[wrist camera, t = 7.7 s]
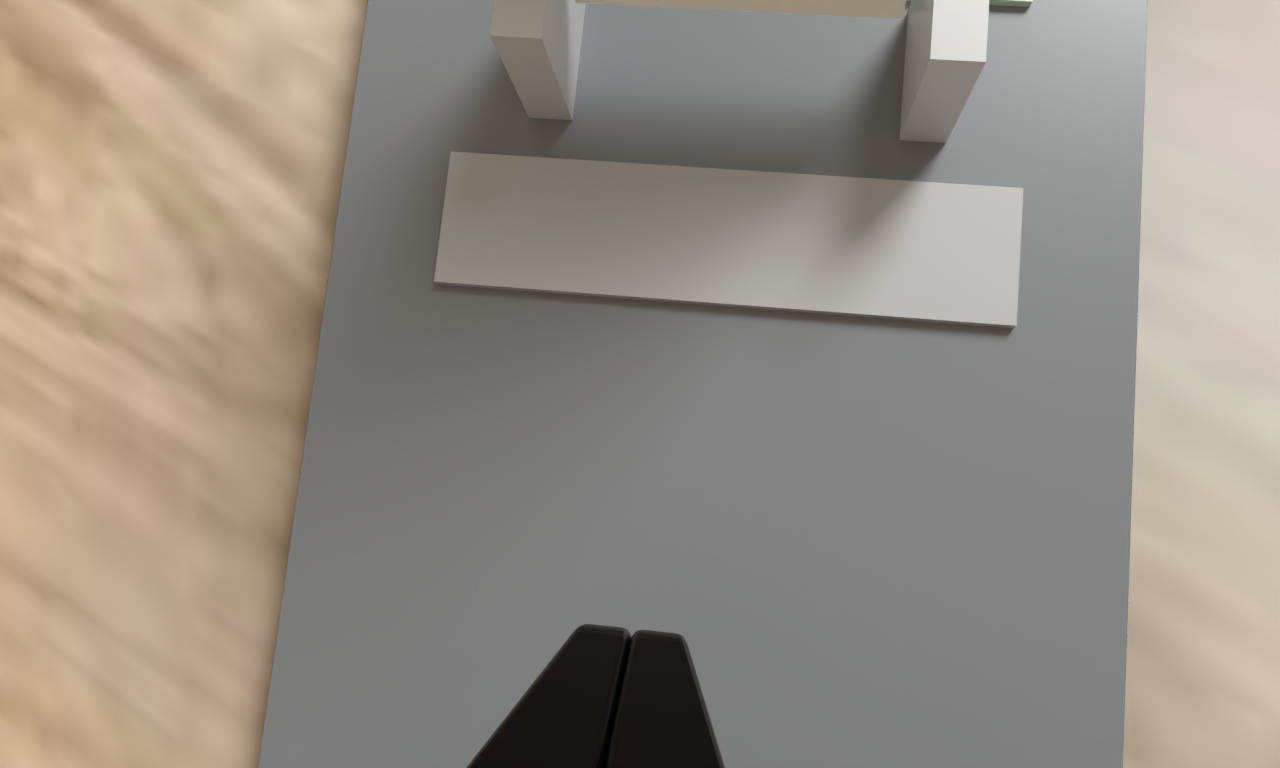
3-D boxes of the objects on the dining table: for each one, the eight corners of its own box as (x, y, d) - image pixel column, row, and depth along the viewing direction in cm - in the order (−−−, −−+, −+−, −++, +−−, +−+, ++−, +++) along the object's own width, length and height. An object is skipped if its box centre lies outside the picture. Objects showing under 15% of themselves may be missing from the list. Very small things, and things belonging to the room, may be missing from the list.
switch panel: (1092, 922, 18) (1201, 1032, 14) (277, 818, 20) (148, 888, 15) (1128, -86, 21) (1228, -253, 17) (408, -114, 22) (329, -276, 18)
